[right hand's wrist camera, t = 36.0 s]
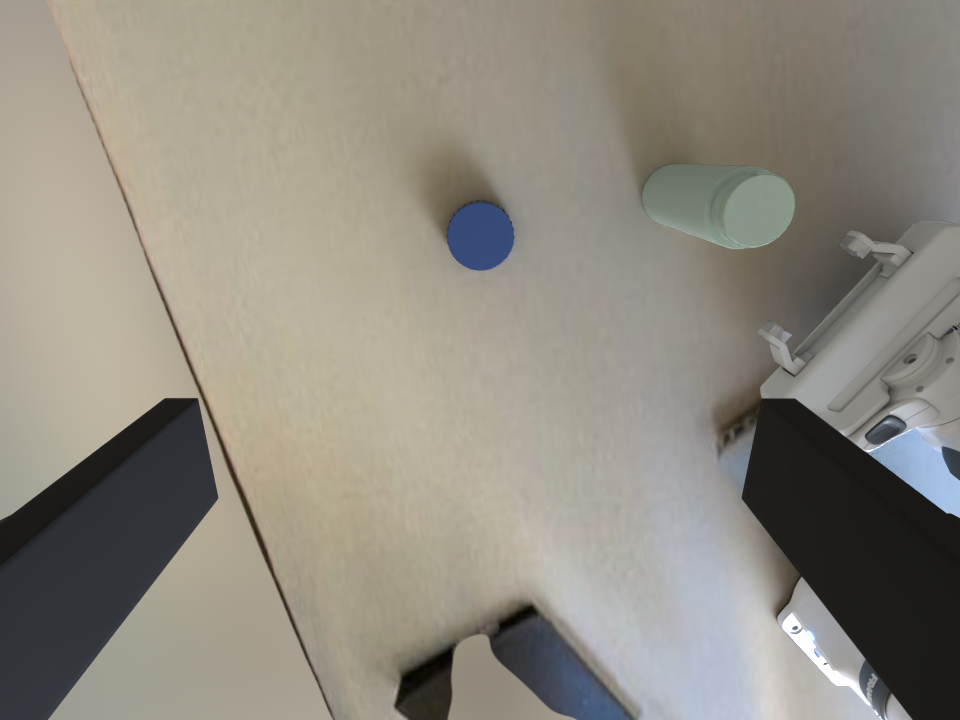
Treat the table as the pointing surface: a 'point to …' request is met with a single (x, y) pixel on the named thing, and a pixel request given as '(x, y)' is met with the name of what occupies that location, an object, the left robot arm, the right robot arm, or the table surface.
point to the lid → (480, 235)
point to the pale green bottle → (720, 203)
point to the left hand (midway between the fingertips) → (805, 284)
